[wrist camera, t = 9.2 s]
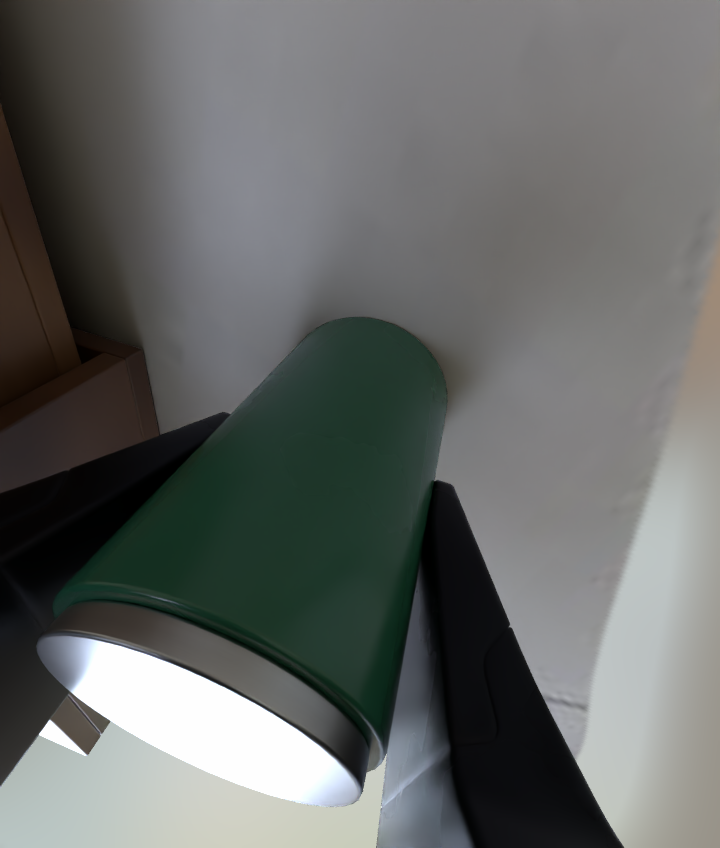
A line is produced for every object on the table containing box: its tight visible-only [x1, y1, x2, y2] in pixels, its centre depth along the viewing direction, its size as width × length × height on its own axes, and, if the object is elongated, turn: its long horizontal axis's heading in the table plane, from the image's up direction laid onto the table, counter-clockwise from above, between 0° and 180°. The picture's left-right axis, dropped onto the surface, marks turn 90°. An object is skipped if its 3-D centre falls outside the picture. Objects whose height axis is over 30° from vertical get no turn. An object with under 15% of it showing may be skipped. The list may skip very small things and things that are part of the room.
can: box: [36, 317, 448, 807], centre depth 8 cm, size 5×5×8 cm
